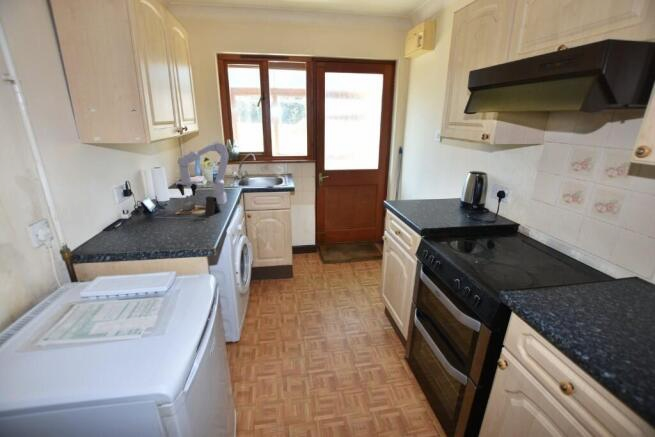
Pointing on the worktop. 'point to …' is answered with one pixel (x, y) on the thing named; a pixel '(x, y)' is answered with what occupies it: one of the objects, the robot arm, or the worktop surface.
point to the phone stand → (211, 206)
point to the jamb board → (195, 211)
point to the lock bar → (189, 206)
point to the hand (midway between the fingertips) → (188, 195)
